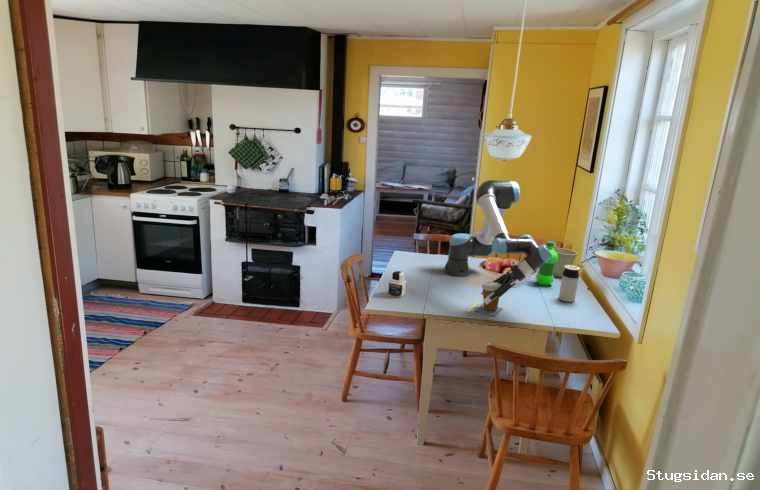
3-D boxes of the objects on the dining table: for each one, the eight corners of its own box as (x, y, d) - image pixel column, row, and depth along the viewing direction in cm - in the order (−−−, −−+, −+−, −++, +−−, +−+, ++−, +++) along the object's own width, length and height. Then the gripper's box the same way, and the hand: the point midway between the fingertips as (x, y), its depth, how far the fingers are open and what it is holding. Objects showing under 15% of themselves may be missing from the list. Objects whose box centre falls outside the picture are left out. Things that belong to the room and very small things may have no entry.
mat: (474, 311, 231) (474, 310, 231) (483, 304, 241) (483, 303, 241) (494, 316, 226) (494, 315, 226) (502, 309, 236) (502, 308, 236)
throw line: (466, 311, 230) (466, 311, 230) (477, 302, 244) (477, 301, 243) (468, 312, 230) (468, 311, 230) (480, 302, 243) (480, 302, 243)
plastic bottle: (557, 286, 276) (564, 244, 270) (541, 287, 272) (548, 245, 266) (545, 281, 285) (552, 240, 279) (530, 281, 281) (537, 240, 275)
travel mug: (574, 303, 251) (580, 270, 246) (558, 300, 253) (564, 268, 249) (574, 298, 258) (580, 266, 254) (558, 295, 261) (564, 264, 256)
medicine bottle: (387, 295, 245) (389, 273, 242) (392, 291, 251) (394, 269, 248) (401, 298, 242) (403, 275, 239) (405, 293, 249) (407, 271, 246)
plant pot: (556, 280, 288) (560, 254, 284) (542, 272, 302) (546, 247, 298) (577, 279, 292) (582, 254, 287) (563, 272, 305) (567, 247, 301)
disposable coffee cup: (500, 305, 236) (501, 282, 234) (501, 312, 227) (502, 288, 225) (480, 304, 238) (481, 280, 236) (480, 310, 229) (481, 286, 227)
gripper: (530, 283, 217) (490, 312, 222) (522, 269, 238) (486, 296, 244) (520, 271, 216) (480, 301, 222) (513, 258, 237) (476, 285, 243)
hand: (483, 298), depth 233 cm, fingers open, 9 cm apart
